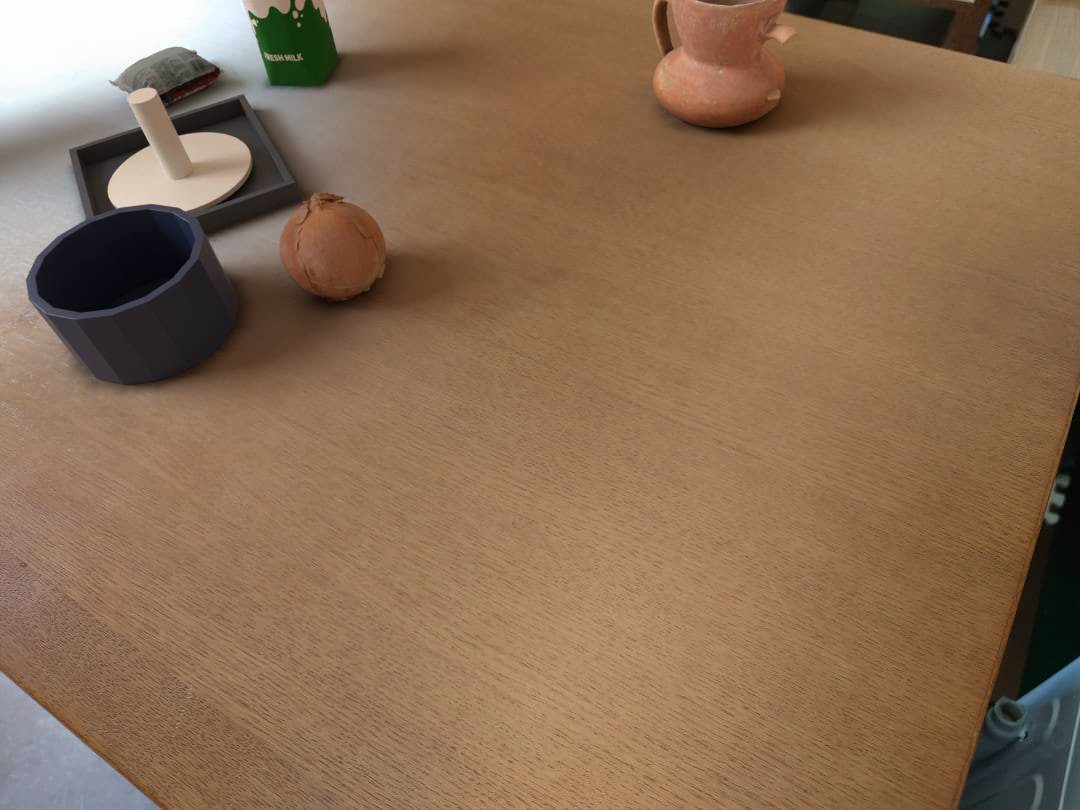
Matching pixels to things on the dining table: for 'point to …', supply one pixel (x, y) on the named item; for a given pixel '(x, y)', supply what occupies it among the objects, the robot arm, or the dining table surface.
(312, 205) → the onion
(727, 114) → the ceramic jug
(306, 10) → the milk carton
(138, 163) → the tin lid
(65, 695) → the dining table surface
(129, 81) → the packaged food
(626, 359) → the dining table surface
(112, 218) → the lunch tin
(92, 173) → the tray
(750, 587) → the dining table surface
